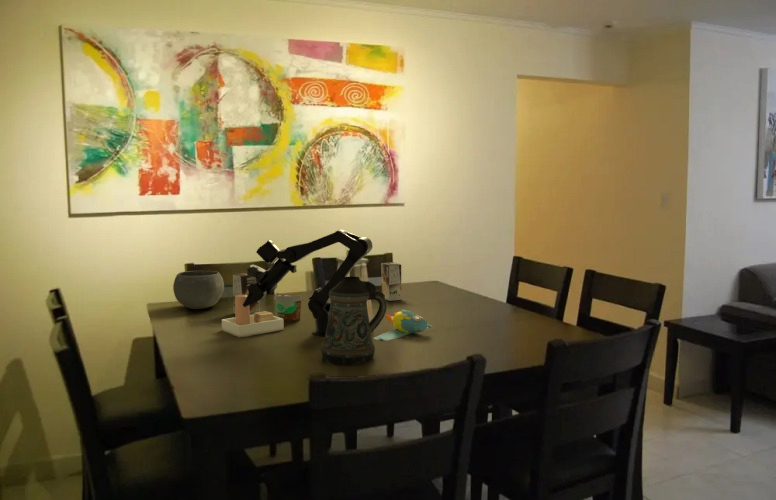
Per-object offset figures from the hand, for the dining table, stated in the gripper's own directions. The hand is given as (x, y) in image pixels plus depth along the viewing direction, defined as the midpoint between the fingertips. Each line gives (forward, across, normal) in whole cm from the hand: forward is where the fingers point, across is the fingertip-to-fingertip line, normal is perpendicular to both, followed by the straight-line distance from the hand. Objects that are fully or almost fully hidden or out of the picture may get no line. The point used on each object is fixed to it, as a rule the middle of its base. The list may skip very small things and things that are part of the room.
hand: (247, 303), depth 231 cm
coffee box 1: (+14, -29, 0) cm, 32 cm away
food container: (+1, -17, +14) cm, 22 cm away
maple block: (+4, -4, +10) cm, 11 cm away
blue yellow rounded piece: (-32, -2, +49) cm, 58 cm away
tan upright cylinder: (+8, 0, +5) cm, 10 cm away
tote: (+6, -1, +8) cm, 10 cm away
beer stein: (-22, +30, +38) cm, 53 cm away
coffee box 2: (-25, -64, +40) cm, 79 cm away
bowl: (+30, -37, -17) cm, 50 cm away
